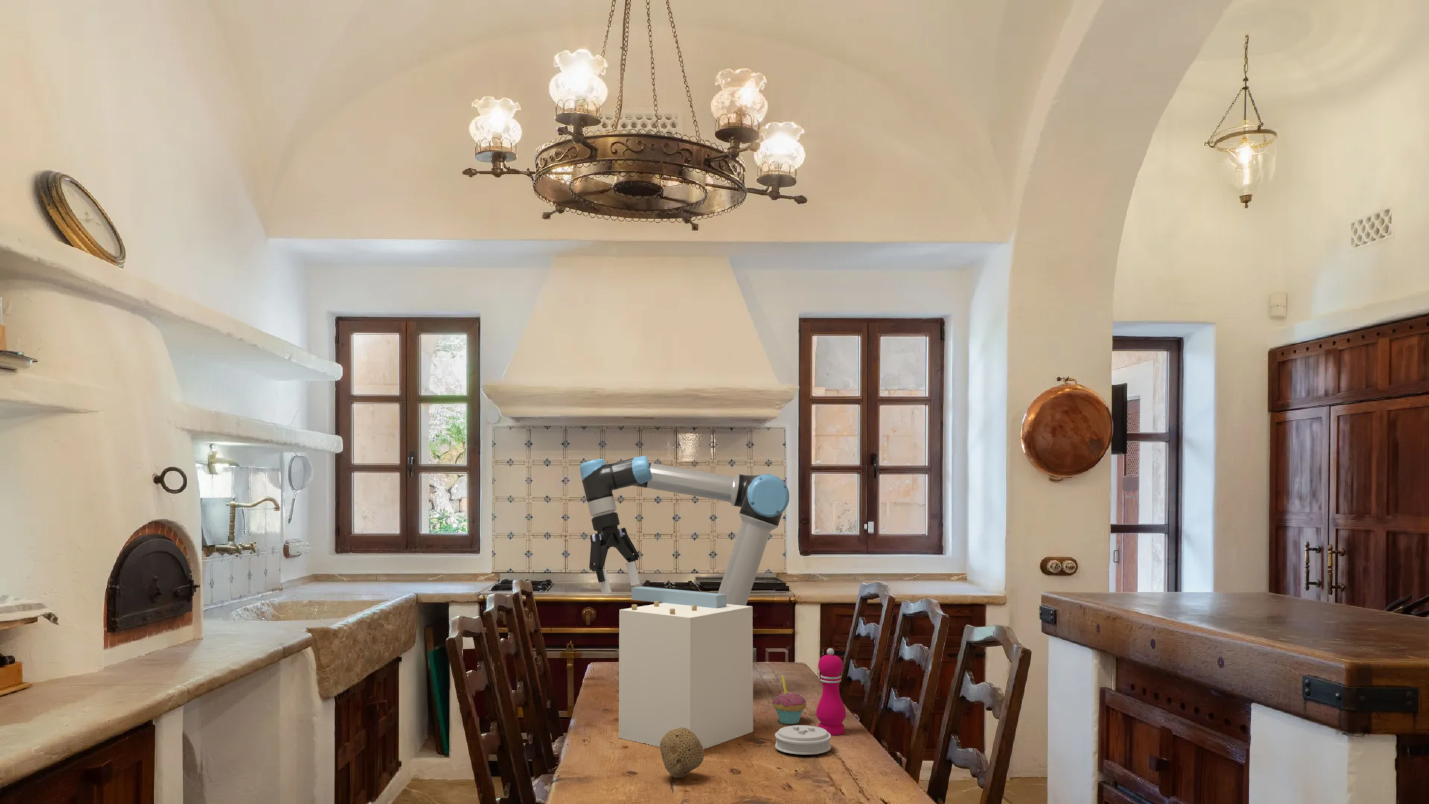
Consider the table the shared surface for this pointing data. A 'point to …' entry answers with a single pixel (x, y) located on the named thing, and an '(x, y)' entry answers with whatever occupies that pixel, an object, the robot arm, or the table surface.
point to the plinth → (685, 672)
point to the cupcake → (789, 706)
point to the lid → (802, 739)
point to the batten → (679, 597)
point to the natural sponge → (681, 752)
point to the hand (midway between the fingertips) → (621, 589)
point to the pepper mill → (831, 695)
